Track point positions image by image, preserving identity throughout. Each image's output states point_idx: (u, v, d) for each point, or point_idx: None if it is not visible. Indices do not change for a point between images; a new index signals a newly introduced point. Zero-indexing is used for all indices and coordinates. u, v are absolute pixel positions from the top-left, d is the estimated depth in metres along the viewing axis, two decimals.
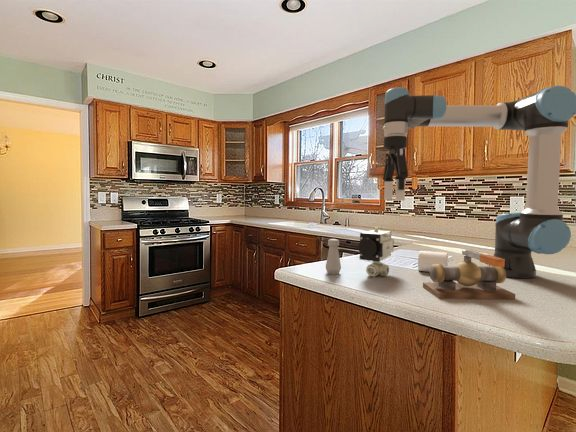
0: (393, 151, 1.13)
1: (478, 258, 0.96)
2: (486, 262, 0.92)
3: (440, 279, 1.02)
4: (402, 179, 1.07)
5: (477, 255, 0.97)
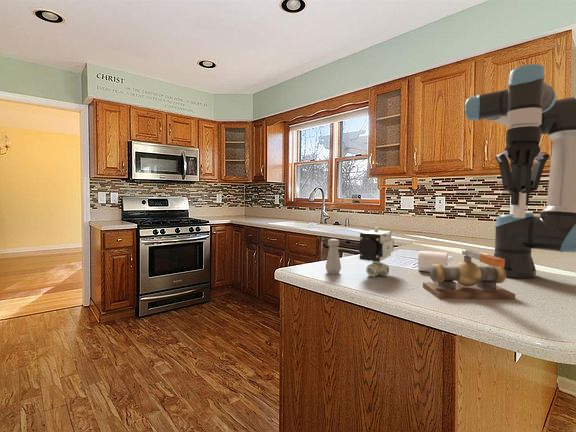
0: None
1: (478, 258, 0.96)
2: (486, 262, 0.92)
3: (440, 279, 1.02)
4: (512, 192, 0.91)
5: (477, 255, 0.97)
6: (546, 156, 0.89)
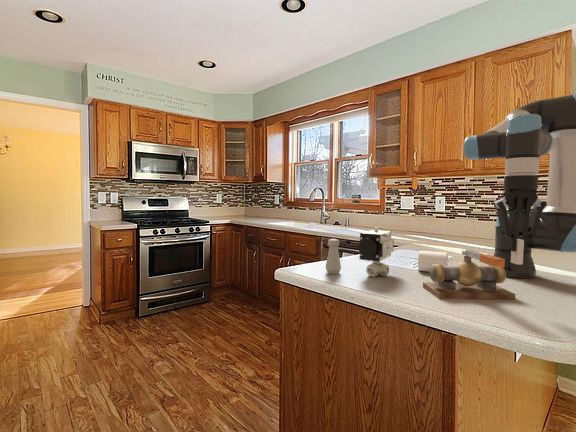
0: None
1: (478, 258, 0.96)
2: (486, 262, 0.92)
3: (440, 279, 1.02)
4: (510, 238, 0.91)
5: (477, 255, 0.97)
6: (543, 204, 0.90)
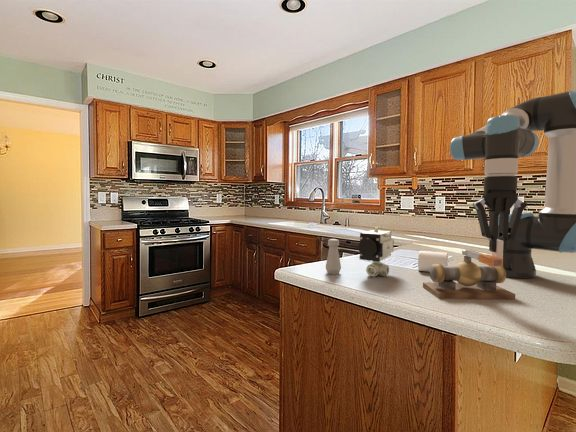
0: None
1: (477, 258, 0.96)
2: (485, 261, 0.92)
3: (440, 279, 1.02)
4: (490, 239, 0.92)
5: (476, 255, 0.97)
6: (524, 204, 0.89)
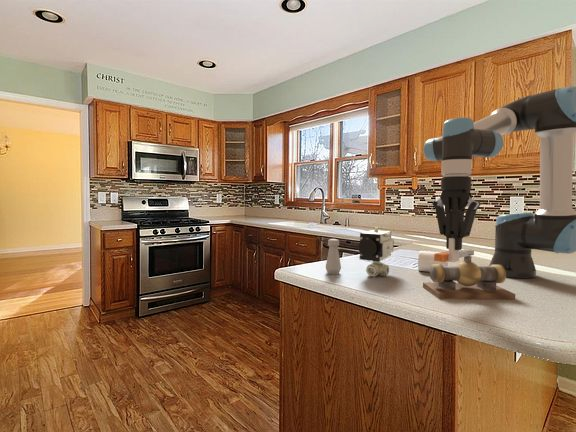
0: None
1: None
2: None
3: (440, 279, 1.02)
4: None
5: None
6: (472, 204, 0.89)
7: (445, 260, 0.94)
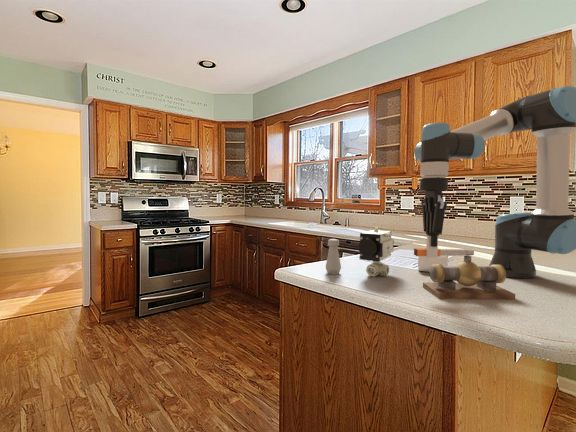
0: None
1: None
2: None
3: (440, 279, 1.02)
4: None
5: None
6: (436, 203, 0.95)
7: (421, 255, 1.03)
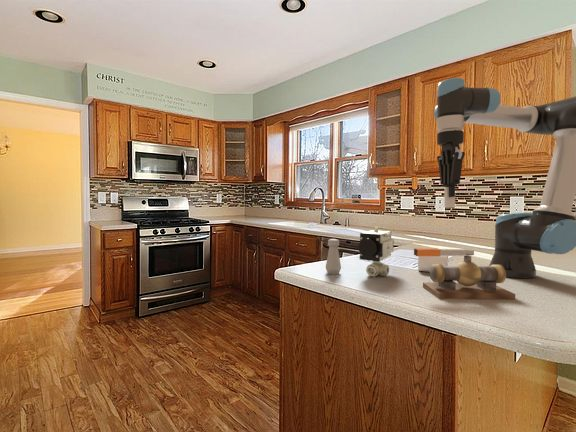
0: None
1: None
2: None
3: (440, 279, 1.02)
4: None
5: None
6: (454, 154, 1.01)
7: (421, 255, 1.03)
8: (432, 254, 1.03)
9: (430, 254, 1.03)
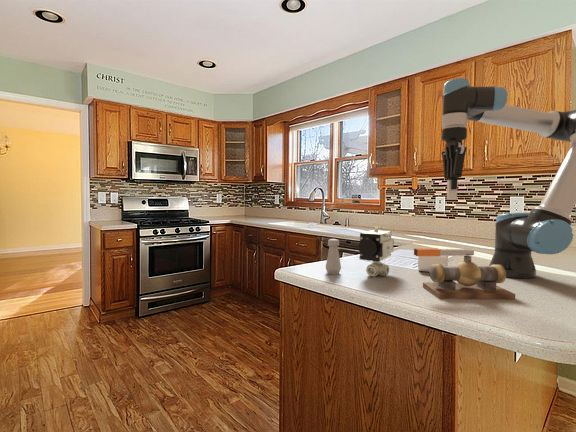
0: None
1: None
2: None
3: (440, 279, 1.02)
4: None
5: None
6: (457, 149, 1.08)
7: (421, 255, 1.03)
8: (432, 254, 1.03)
9: (430, 254, 1.03)
